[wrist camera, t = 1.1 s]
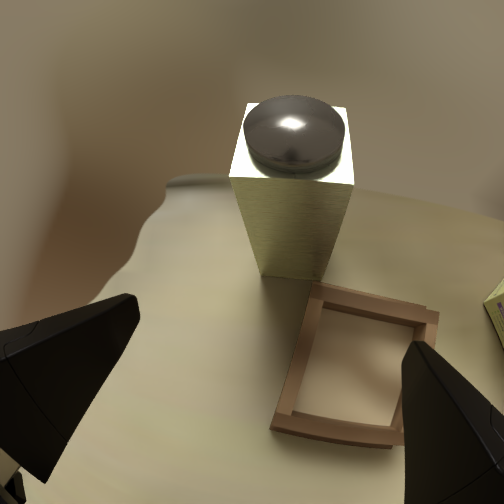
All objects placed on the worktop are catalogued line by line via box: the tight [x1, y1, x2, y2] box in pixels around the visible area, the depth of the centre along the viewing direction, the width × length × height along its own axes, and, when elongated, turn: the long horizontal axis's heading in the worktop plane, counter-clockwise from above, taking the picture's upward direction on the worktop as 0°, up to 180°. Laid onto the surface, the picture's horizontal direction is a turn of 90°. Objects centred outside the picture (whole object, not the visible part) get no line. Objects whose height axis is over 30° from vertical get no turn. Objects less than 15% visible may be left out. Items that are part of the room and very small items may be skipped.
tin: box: [229, 95, 354, 281], centre depth 17 cm, size 5×5×14 cm
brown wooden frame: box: [269, 280, 439, 449], centre depth 17 cm, size 12×10×4 cm
